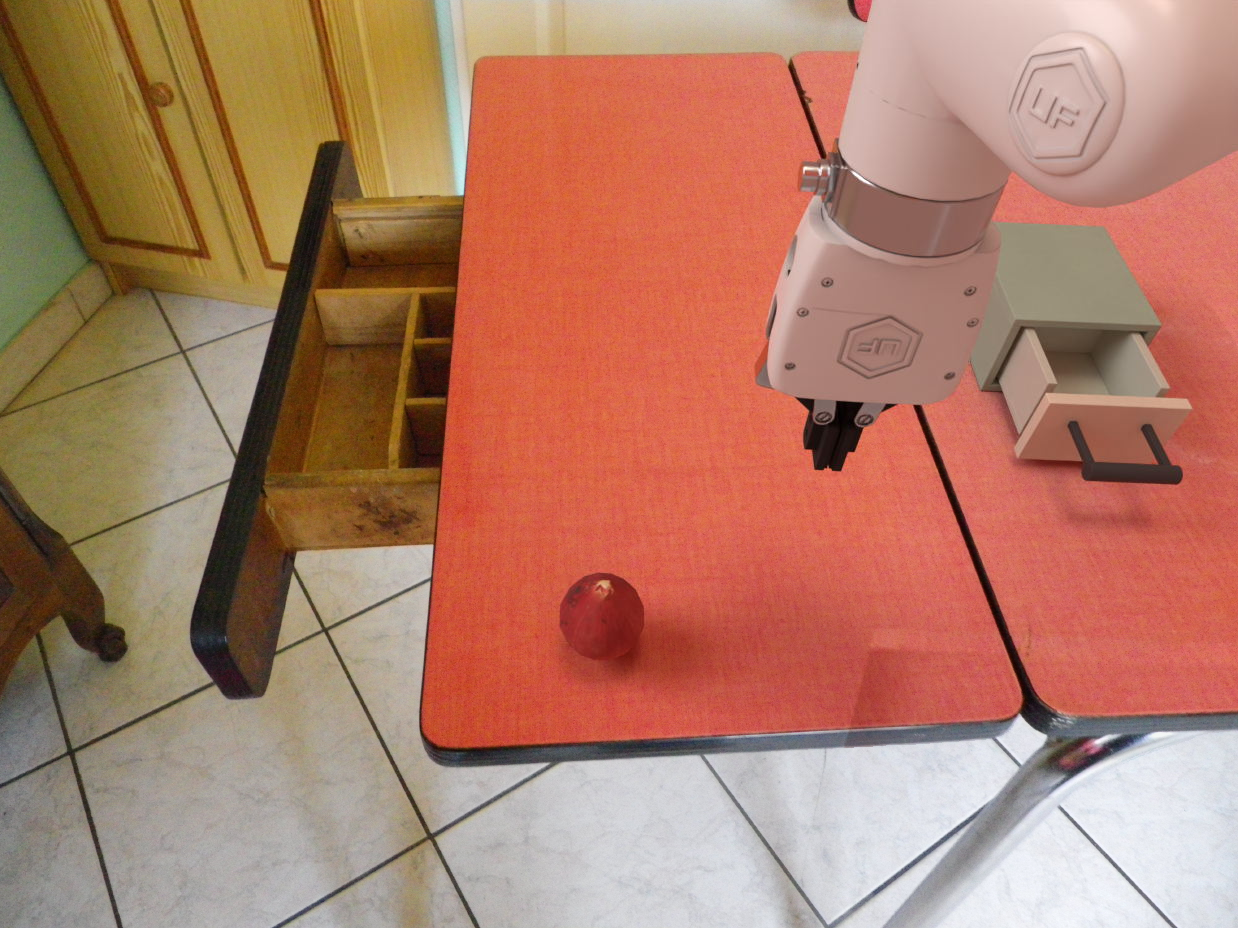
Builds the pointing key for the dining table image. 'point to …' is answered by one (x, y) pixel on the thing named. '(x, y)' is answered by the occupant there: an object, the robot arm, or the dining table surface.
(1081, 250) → the cabinet
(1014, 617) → the dining table surface
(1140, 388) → the drawer
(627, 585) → the onion
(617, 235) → the dining table surface
